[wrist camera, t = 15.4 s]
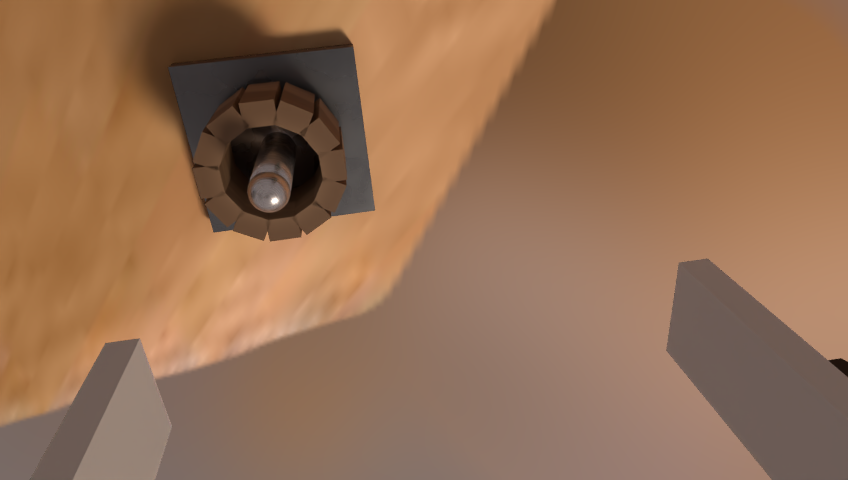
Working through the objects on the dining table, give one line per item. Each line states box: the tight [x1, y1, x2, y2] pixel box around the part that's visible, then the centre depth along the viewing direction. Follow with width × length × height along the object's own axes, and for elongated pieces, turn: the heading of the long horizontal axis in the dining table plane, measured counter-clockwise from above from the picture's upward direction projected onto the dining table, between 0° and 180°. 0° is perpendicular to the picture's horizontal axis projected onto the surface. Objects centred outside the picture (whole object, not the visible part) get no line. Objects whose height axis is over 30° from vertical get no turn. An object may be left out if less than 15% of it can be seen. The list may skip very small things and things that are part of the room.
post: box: [168, 44, 375, 232], centre depth 38 cm, size 12×12×11 cm
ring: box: [192, 81, 347, 241], centre depth 39 cm, size 9×9×5 cm
